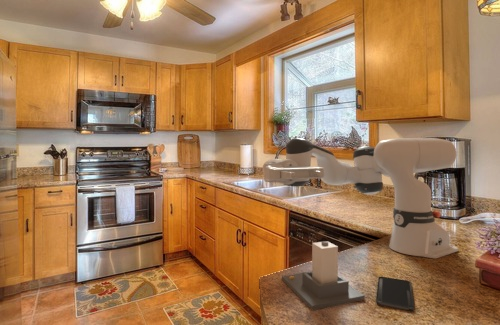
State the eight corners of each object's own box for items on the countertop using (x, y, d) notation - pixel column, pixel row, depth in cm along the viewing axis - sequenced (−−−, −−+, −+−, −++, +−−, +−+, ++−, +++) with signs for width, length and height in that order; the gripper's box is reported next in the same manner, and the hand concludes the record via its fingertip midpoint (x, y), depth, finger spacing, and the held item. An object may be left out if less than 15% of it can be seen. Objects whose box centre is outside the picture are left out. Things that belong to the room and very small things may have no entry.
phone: (375, 301, 67) (378, 275, 81) (375, 306, 67) (378, 279, 81) (415, 309, 64) (411, 281, 77) (415, 314, 64) (411, 285, 77)
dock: (326, 272, 85) (326, 258, 85) (364, 299, 70) (364, 283, 69) (281, 279, 80) (281, 265, 80) (312, 310, 65) (312, 292, 65)
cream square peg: (327, 283, 76) (327, 238, 75) (337, 291, 72) (337, 244, 71) (312, 286, 74) (312, 240, 74) (321, 294, 70) (322, 246, 70)
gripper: (312, 179, 109) (334, 183, 96) (260, 181, 102) (276, 186, 89) (312, 162, 108) (334, 164, 95) (260, 163, 102) (276, 165, 89)
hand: (305, 174), depth 92 cm, fingers open, 8 cm apart
